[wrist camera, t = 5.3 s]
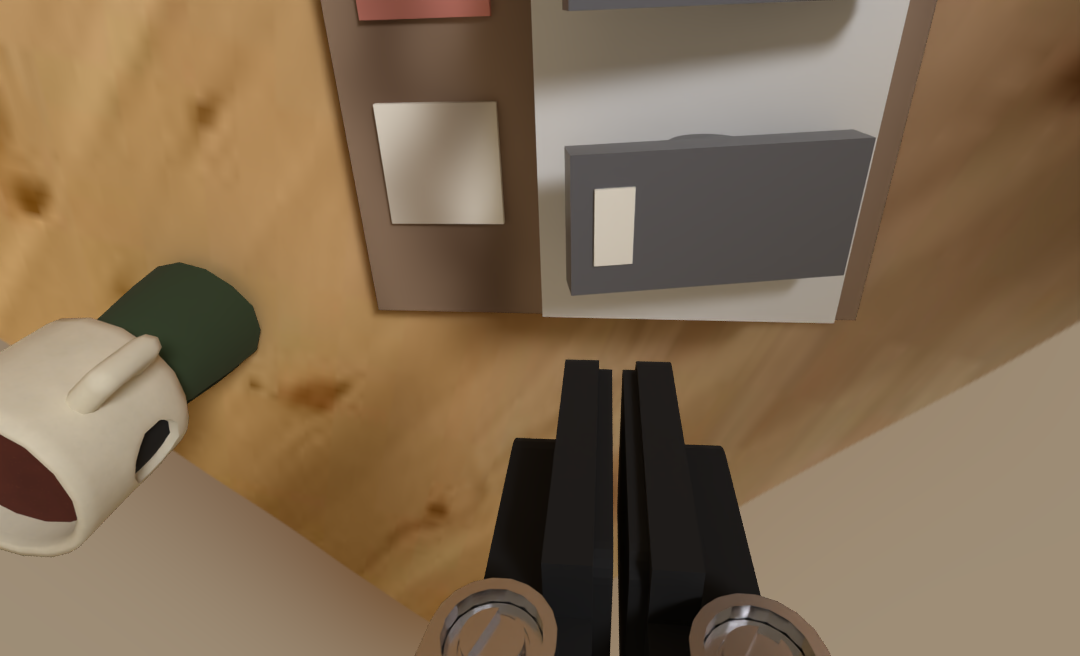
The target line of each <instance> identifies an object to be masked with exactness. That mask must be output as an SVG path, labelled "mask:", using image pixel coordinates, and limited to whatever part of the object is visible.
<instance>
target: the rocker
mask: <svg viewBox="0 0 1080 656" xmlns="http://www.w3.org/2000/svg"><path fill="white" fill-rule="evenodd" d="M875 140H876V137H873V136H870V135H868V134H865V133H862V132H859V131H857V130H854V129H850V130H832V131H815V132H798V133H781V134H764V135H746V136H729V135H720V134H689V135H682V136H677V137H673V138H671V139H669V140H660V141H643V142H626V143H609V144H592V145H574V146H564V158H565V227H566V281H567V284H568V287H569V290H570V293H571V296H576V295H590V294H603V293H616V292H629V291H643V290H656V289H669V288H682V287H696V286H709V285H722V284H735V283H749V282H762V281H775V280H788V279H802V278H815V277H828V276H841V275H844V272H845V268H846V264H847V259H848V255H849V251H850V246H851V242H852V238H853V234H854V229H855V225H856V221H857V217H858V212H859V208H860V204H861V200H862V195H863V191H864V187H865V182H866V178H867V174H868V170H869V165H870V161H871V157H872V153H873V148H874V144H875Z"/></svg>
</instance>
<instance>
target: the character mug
mask: <svg viewBox="0 0 1080 656" xmlns="http://www.w3.org/2000/svg"><path fill="white" fill-rule="evenodd" d="M259 335H260V327H259V324H258V321H257V318H256V315H255V311H254V308H253V306H252V305H251V304H250V303H249V302H248V301H247V300H246V299H245V298H244V297H243V296H242V295H241V294H240V293H239V292H238V291H237V290H235V289H234V288H233V287H232V286H231V285H230V284H228V283H226V282H225V281H223V280H222V279H220V278H218V277H217V276H215V275H214V274H212V273H211V272H209V271H207V270H206V269H202V268H199V267H195V266H191V265H188V264H184V263H180V262H179V263H174V264H169V265H164V266H159V267H157V268H156V269H154V270H153V271H152V272H151V273H149V274H148V275H147V276H146V277H144V278H143V279H142V280H141V281H139V282H138V283H137V284H136V285H134V286H133V287H132V288H131V289H130V290H129V291H128V292H127V293H125V294H124V295H123V296H122V297H121V298H120V299H119V300H118V301H117V302H116V303H115V304H114V305H112V306H111V307H110V308H109V309H108V310H107V311H106V312H105V313H104V314H103V315H102V316H100V317H99V318H98V319H97V320H96V319H93V318H62V319H59V320H56V321H53V322H51V323H48V324H47V325H45V326H43V327H41V328H40V329H38V330H36V331H35V332H33V333H31V334H30V335H28V336H26V337H25V338H23V339H21V340H20V341H18V342H16V343H15V344H13V345H11V346H10V347H8V348H6V349H5V350H3V351H1V352H0V549H1V550H5V551H8V552H12V553H15V554H19V555H22V556H40V557H55V556H59V555H63V554H66V553H70V552H72V551H73V550H75V549H77V548H79V547H80V546H81V545H82V544H83V543H84V542H85V541H86V540H87V539H88V538H89V537H90V536H91V535H92V533H93V532H95V530H96V529H97V528H98V527H99V526H100V525H101V524H102V523H103V522H104V521H105V520H106V519H107V518H108V517H109V516H110V515H111V514H112V513H113V512H114V510H116V509H117V507H118V506H119V505H120V504H121V503H122V502H123V501H124V500H125V499H126V498H127V497H128V496H129V495H130V494H131V493H132V492H133V491H134V490H135V489H136V488H137V487H138V486H139V485H140V484H141V483H142V482H143V481H144V480H145V479H146V478H147V477H148V476H149V475H150V474H151V473H152V472H153V471H154V470H155V469H156V468H157V467H158V466H159V465H160V464H161V463H162V461H163V460H164V459H165V458H166V456H167V455H168V454H169V453H170V452H171V451H172V450H173V449H174V448H175V447H176V446H177V444H178V443H179V442H180V441H181V440H182V438H183V437H184V435H185V433H186V431H187V427H188V421H189V413H188V407H187V404H188V403H189V402H190V401H192V400H193V399H195V398H196V397H198V396H199V395H201V394H202V393H203V392H205V391H206V390H208V389H209V388H211V387H212V386H213V385H215V384H216V383H218V382H219V381H220V380H222V379H223V378H224V377H225V376H227V375H228V374H229V373H230V372H232V371H233V370H234V369H235V368H237V367H238V366H239V364H240V363H241V362H243V361H244V360H245V359H246V358H248V357H249V356H250V355H251V354H253V353H254V352H255V351H256V350H257V346H258V341H259Z"/></svg>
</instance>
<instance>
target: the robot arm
mask: <svg viewBox="0 0 1080 656" xmlns="http://www.w3.org/2000/svg"><path fill="white" fill-rule="evenodd" d="M617 522H618V589H619V654H620V655H619V656H831V655H830V653H829V651H828V649H827V647H826V646H825V644H824V643H823V641H822V640H821V638H820V637H819V635H818V634H817V632H816V631H815V629H814V628H813V627H812V626H811V625H810V624H808V623H807V622H806V621H805V620H804V619H803V618H802V617H801V616H800V615H799V614H798V613H796V612H795V611H793V610H791V609H789V608H788V607H786V606H784V605H783V604H781V603H779V602H778V601H775V600H771V599H768V598H765V597H762V596H761V595H760V591H759V587H758V583H757V579H756V575H755V572H754V567H753V563H752V559H751V555H750V552H749V548H748V543H747V539H746V535H745V531H744V527H743V523H742V519H741V516H740V511H739V507H738V503H737V499H736V495H735V491H734V487H733V483H732V479H731V475H730V471H729V467H728V463H727V459H726V455H725V452H724V449H723V448H722V447H721V446H708V445H685V444H684V438H683V432H682V426H681V419H680V413H679V407H678V401H677V395H676V389H675V383H674V377H673V371H672V365H671V363H670V362H641V361H636V367H635V370H623V373H622V397H621V422H620V447H619V472H618V500H617ZM612 583H613V435H612V370H608V369H599V360H566V361H565V368H564V377H563V385H562V393H561V402H560V410H559V418H558V427H557V435H556V439H531V438H516V439H515V440H514V443H513V446H512V451H511V455H510V460H509V465H508V469H507V474H506V479H505V483H504V488H503V493H502V497H501V502H500V507H499V511H498V516H497V521H496V525H495V530H494V535H493V539H492V544H491V549H490V553H489V558H488V563H487V567H486V572H485V577H484V580H479V581H474V582H472V583H470V584H468V585H466V586H464V587H462V588H460V589H458V590H456V591H455V592H454V593H453V594H451V595H450V596H449V597H448V598H447V599H446V600H445V601H444V602H442V603H441V605H440V606H439V608H438V610H437V611H436V613H435V614H434V616H433V617H432V619H431V621H430V623H429V625H428V627H427V630H426V632H425V634H424V636H423V639H422V641H421V643H420V645H419V647H418V650H417V652H416V654H415V656H610V637H611V612H612V586H613V584H612Z"/></svg>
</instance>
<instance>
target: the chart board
mask: <svg viewBox="0 0 1080 656" xmlns="http://www.w3.org/2000/svg"><path fill="white" fill-rule="evenodd" d="M936 3H937V0H910V3H909V7H908V11H907V15H906V20H905V24H904V28H903V32H902V37H901V41H900V45H899V49H898V54H897V58H896V62H895V66H894V71H893V75H892V79H891V83H890V88H889V92H888V96H887V100H886V105H885V109H884V113H883V117H882V121H881V126H880V130H879V134H878V138H877V143H876V147H875V151H874V155H873V160H872V164H871V168H870V172H869V177H868V181H867V185H866V189H865V194H864V198H863V202H862V206H861V211H860V215H859V219H858V223H857V227H856V232H855V236H854V240H853V244H852V249H851V253H850V257H849V261H848V266H847V270H846V274H845V278H844V283H843V287H842V291H841V295H840V300H839V304H838V308H837V312H836V317H835V320H856V317H857V313H858V309H859V305H860V301H861V297H862V293H863V289H864V285H865V281H866V278H867V274H868V270H869V266H870V262H871V258H872V254H873V250H874V246H875V242H876V238H877V234H878V231H879V227H880V223H881V219H882V215H883V211H884V207H885V203H886V199H887V195H888V191H889V187H890V184H891V180H892V176H893V172H894V168H895V164H896V160H897V156H898V152H899V148H900V144H901V141H902V137H903V133H904V129H905V125H906V121H907V117H908V113H909V109H910V105H911V101H912V97H913V94H914V90H915V86H916V82H917V78H918V74H919V70H920V66H921V62H922V58H923V54H924V50H925V47H926V43H927V39H928V35H929V31H930V27H931V23H932V19H933V15H934V11H935V7H936ZM321 5H322V11H323V16H324V21H325V26H326V32H327V37H328V42H329V48H330V53H331V58H332V64H333V69H334V74H335V80H336V85H337V90H338V95H339V101H340V106H341V111H342V117H343V122H344V127H345V133H346V138H347V143H348V149H349V154H350V159H351V165H352V170H353V175H354V180H355V186H356V191H357V196H358V202H359V207H360V212H361V218H362V223H363V228H364V234H365V239H366V244H367V250H368V255H369V260H370V265H371V271H372V276H373V281H374V287H375V292H376V297H377V303H378V308H379V310H410V311H456V312H501V313H542V287H541V260H540V233H539V206H538V179H537V152H536V125H535V98H534V71H533V44H532V17H531V0H321Z"/></svg>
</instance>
